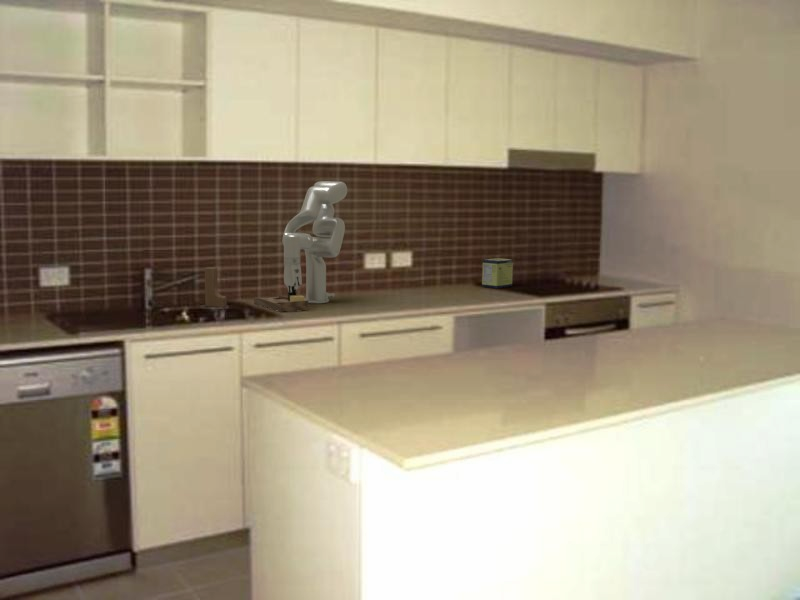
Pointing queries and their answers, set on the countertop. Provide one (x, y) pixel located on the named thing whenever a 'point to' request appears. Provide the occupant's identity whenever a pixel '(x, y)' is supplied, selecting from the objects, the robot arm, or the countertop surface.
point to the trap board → (281, 303)
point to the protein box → (497, 273)
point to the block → (297, 298)
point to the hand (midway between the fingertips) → (292, 300)
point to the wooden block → (213, 289)
